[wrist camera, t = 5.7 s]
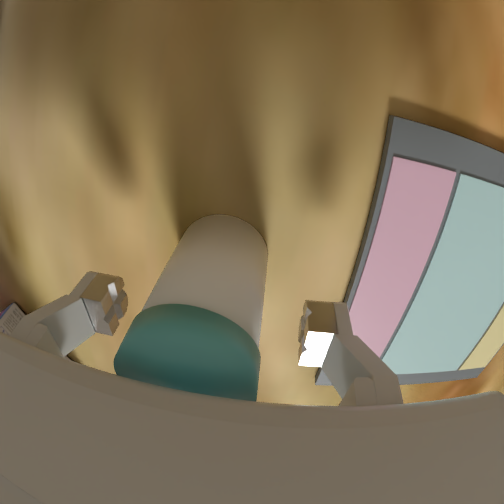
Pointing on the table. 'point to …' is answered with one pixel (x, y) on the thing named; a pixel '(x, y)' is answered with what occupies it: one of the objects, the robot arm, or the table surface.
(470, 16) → the table surface
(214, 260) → the teal-capped bottle
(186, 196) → the table surface
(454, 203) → the colour chart
